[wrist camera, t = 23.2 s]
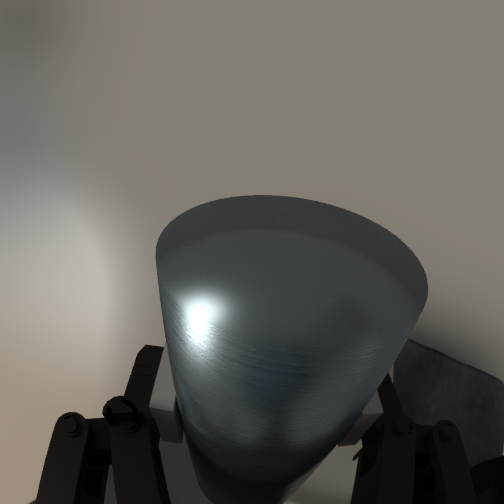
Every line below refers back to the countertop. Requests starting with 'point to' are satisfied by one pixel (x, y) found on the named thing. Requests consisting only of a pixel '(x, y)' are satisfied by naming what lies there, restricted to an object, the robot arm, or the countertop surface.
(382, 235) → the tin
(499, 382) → the countertop surface
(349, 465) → the tray
